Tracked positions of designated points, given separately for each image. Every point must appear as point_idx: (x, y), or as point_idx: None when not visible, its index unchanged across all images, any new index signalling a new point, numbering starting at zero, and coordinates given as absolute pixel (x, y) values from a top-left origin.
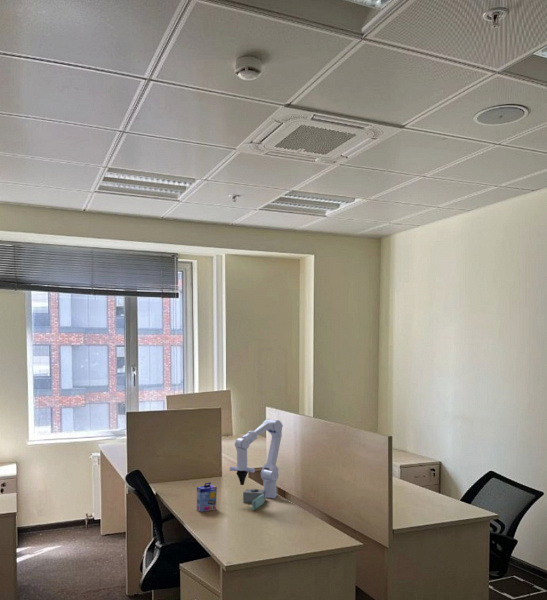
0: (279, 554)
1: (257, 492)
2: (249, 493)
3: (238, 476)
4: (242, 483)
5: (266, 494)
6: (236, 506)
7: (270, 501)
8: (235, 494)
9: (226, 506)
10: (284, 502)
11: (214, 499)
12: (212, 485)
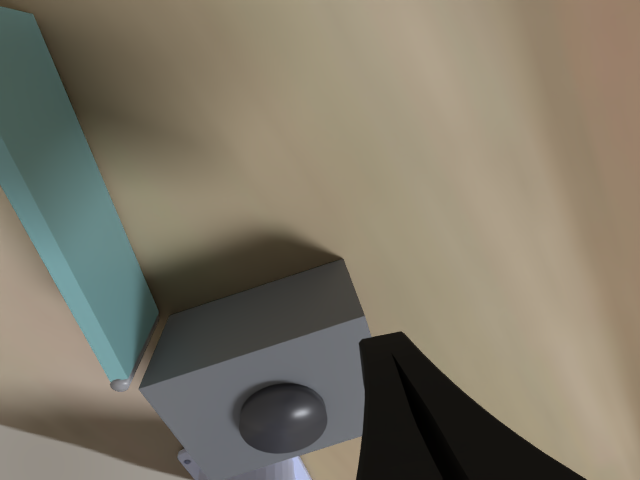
0: None
1: (213, 388)
2: (289, 334)
3: (542, 467)
4: (366, 356)
5: None
6: (332, 108)
7: None
8: (504, 392)
9: (434, 52)
10: (32, 417)
11: None
12: None
